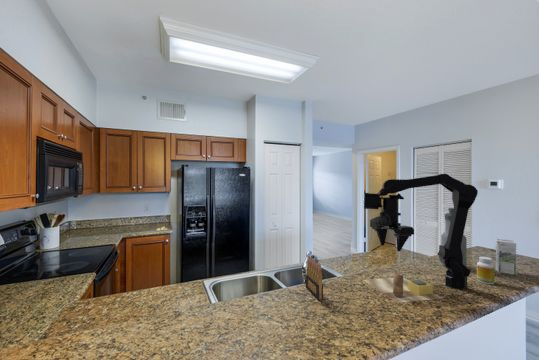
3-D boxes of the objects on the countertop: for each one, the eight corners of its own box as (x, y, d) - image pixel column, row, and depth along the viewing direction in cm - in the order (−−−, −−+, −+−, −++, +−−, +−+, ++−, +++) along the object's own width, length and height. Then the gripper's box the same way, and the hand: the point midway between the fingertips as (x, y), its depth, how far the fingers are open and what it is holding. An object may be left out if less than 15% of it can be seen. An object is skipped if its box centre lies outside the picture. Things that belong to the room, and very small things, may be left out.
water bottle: (444, 261, 125) (444, 206, 125) (468, 266, 118) (468, 208, 118) (438, 266, 118) (438, 208, 119) (464, 271, 111) (464, 209, 111)
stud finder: (421, 287, 90) (421, 278, 90) (433, 293, 86) (433, 283, 86) (407, 289, 89) (407, 279, 89) (418, 295, 84) (418, 285, 84)
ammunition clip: (323, 300, 82) (323, 264, 82) (318, 300, 81) (318, 264, 82) (310, 287, 92) (310, 255, 92) (305, 287, 92) (305, 255, 92)
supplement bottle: (495, 285, 96) (495, 260, 96) (477, 282, 99) (477, 258, 99) (493, 281, 100) (493, 257, 100) (476, 278, 103) (476, 255, 103)
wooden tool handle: (398, 293, 86) (398, 273, 86) (405, 297, 83) (405, 276, 83) (391, 294, 85) (391, 273, 85) (397, 298, 82) (397, 277, 82)
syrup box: (512, 271, 112) (512, 239, 112) (516, 275, 107) (516, 242, 107) (495, 269, 115) (495, 238, 115) (498, 273, 110) (498, 240, 110)
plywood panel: (402, 279, 101) (402, 276, 101) (443, 301, 82) (443, 298, 82) (362, 282, 97) (362, 279, 97) (397, 306, 79) (397, 302, 79)
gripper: (359, 208, 108) (359, 243, 107) (390, 213, 89) (390, 255, 89) (381, 207, 110) (381, 242, 110) (415, 212, 92) (415, 254, 92)
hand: (390, 248), depth 100 cm, fingers open, 9 cm apart
